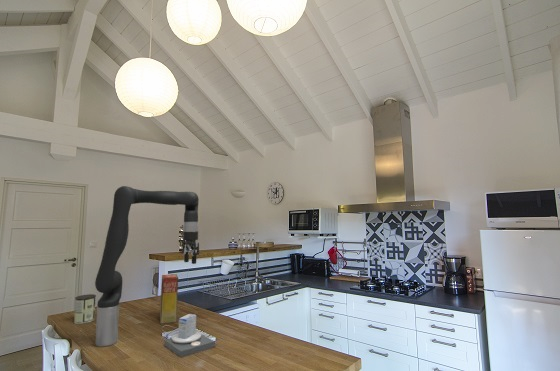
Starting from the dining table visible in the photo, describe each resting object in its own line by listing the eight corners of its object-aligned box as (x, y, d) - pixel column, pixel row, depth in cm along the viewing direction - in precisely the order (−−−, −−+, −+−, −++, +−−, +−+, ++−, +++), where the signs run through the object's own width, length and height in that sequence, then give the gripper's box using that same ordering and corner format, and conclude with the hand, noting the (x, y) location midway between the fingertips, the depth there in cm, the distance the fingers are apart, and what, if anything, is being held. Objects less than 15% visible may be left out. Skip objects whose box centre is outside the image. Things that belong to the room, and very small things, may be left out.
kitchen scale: (164, 345, 145) (164, 336, 145) (196, 336, 155) (196, 328, 156) (180, 357, 131) (181, 347, 132) (214, 347, 142) (214, 337, 142)
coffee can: (82, 318, 188) (83, 294, 190) (98, 318, 187) (99, 294, 189) (69, 323, 178) (71, 298, 179) (86, 324, 177) (87, 298, 178)
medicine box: (188, 332, 150) (188, 313, 151) (196, 333, 149) (196, 314, 150) (178, 338, 142) (178, 318, 143) (186, 339, 141) (186, 319, 142)
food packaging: (177, 321, 179) (178, 277, 182) (159, 324, 175) (161, 278, 178) (176, 315, 191) (177, 273, 194) (159, 317, 188) (160, 274, 191)
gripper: (177, 230, 164) (177, 262, 162) (190, 231, 153) (189, 265, 151) (191, 230, 168) (190, 261, 167) (204, 230, 158) (203, 263, 156)
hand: (190, 262), depth 159 cm, fingers open, 8 cm apart
